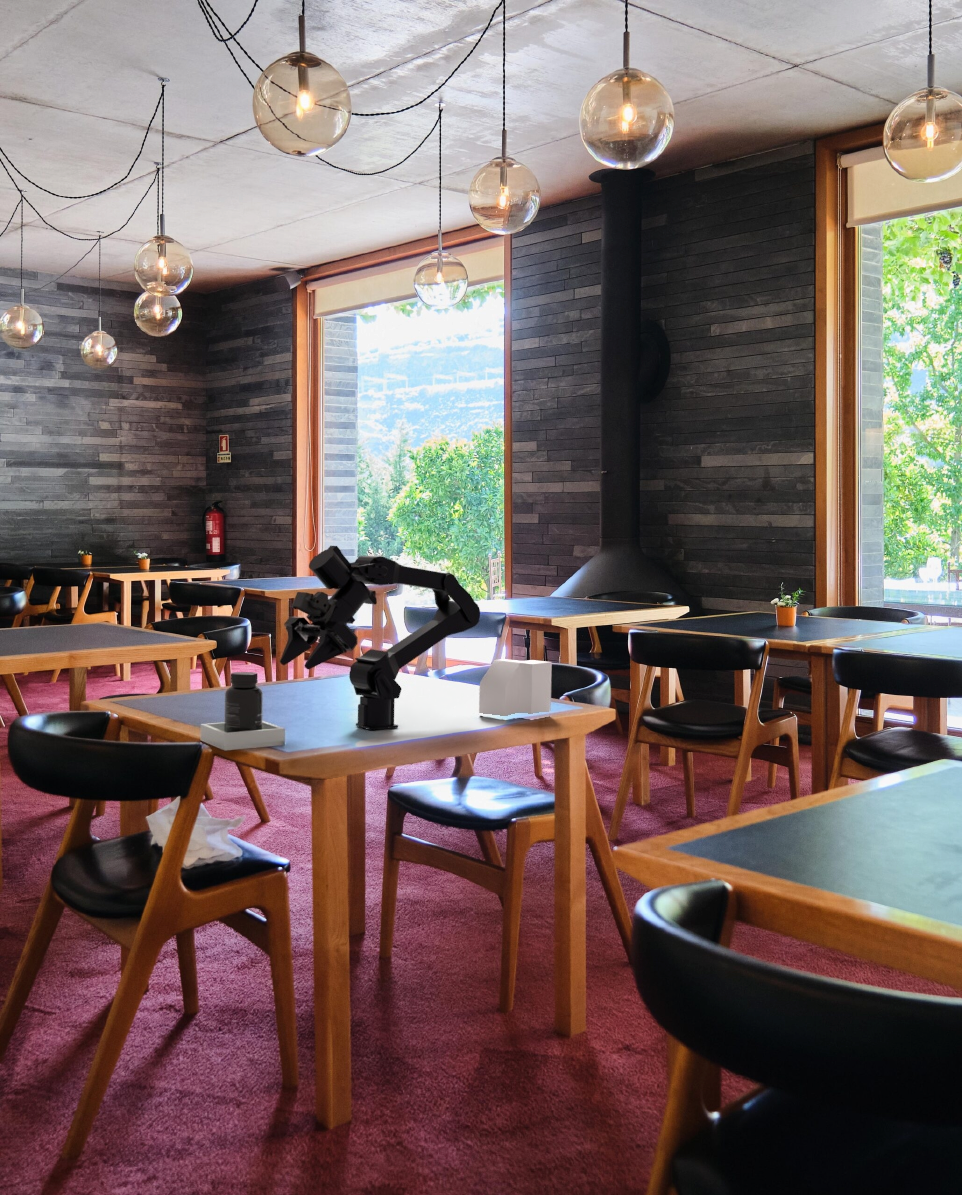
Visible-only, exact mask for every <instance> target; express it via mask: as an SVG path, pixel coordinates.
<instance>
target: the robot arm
mask: <svg viewBox="0 0 962 1195" xmlns="http://www.w3.org/2000/svg"><path fill="white" fill-rule="evenodd" d="M308 568H309V570H310V571H311V572H312V573H313V574H314V575H315V577H316V578H317V579H318V580H319V581H320V582H321V583H322V585H323V586H324V587H325V588H326V589H327V590H333V589H334V590H336V591H335V592H334V593H333V594H332V595H331V597H330V598H329V595H328V594H327V593H326V592H324V591H316V592H315V593H310V592H308V591H307V592H306V591H305V592H304V591H297V592H296V594H295V597H294V599H293V601H292V602H293V603H292V605H291V608H292V609H294V610H298V611H300V612H302V613H304V614H307V615H306V618H305V617H304V616H303V617H300V616H289V617H288V619H287V620H286V621H285V622H284V627H285V630H286V633H287V637H288V638H287V642H286V644H285V647H284V650H283V651H282V655H281V657H280V659H279V664H281V665H282V666H285V665H287V664H289V663H290V662H292V661H293V660H295V659H296V658H299V657H300V656H301V655H302V654H304V653H306V651H308V650H310V649H312V645H314V644H315V643H316V642H317V641H318V640H319V641H318V643H317V645H316V646H315V648H313V651H312V652H311V653H310V655H309V656H308V658H307V660H306V662H305V664H304V668H305V669H306V670H311V669H314V668H315V667H317V666H319V665H321V664H323V663H325V662H327V661H329V660H331V659H333V658H336V657H338V656H340V655H342V654H346V653H347V652H348V651H349V652H353V651H354V649H355V648H356V647H357V645H359V644H358V642H359V641H358V640H359V639H358V636H357V635H356V633H355V632H354V631H353V630H352V629H351V628H350V627H349V626H348V624H350V625H353V624H354V622H355V621H356V619H355V618H354V616H355V615H356V614H357V612H358V611H359V609H361V607H362V606H363V605H364V604H367V605H377V604H378V601H377V595H376V594H377V591H376V590H373V589H372V590H371V589H369V588H368V585H373V586H389V585H404V586H410V587H415V588H423V589H429V590H432V591H433V592H432V593H433V595H434V601H435V602H434V603H435V605H436V607H437V609H436V611H435V614H434V616H433V618H432V619H431V620H430V621H428V622H427V623H425V624H424V625H422V626H421V627H419V628H418V629H416V630H414V631H413V632H411V633H410V634H409V635H408V636H406V637H405V638H403V639H402V640H400V641H399V642H397V643H395V644H394V645H393V646H391V647H390V648H388V649H386V650H380V649H372V648H370V649H368V650H366V652H365V653H364V654H362V655H361V656H359V657H355V658H354V659H355V661H354V663H352V664H351V665H350V667H349V668H350V669H349V674H348V675H349V676H348V677H349V681H350V683H351V686H353V689H354V692H355V695H356V696H359V703H358V705H357V722H356V723H355V726H357V727H359V728H363V729H366V730H369V731H375V730H384V729H385V730H387V729H396V728H399V725H398V724H395V699H399V698H400V696H401V691H402V687H401V686H400V684H398V682H397V681H396V679H397V676H398V673H399V671H400V670H401V669H402V668H404V667H405V666H407V665H408V664H409V663H411V662H412V661H414V660H415V659H416V658H418V657H420V656H421V655H423V654H424V653H425V652H427V651H428V650H429V649H431V648H433V647H434V646H435V645H436V644H439V643H440V642H441V641H443V640H444V639H445V638H447V637H449V636H451V635H455V634H460V633H463V632H466V631H468V630H470V629H473V628H475V627H476V626H477V625H479V622H480V618H481V609H480V607H479V605H478V603H476V602H475V600H474V598H473V597H472V595H471V593H469V592H468V591H467V590H466V589H465V588H464V586H462V584H460V582H459V581H458V579H457V577H456V576H455V575H454V574H453V573H451V572H441V571H439V572H438V571H433V570H427V569H422V568H416V567H411V566H405V565H401V564H400V563H398V562H397V561H395V560H392V559H390V558H388V557H385V556H383V555H382V556H381V555H380V556H379V555H360V556H358V557H357V558H356V559H355V561H352V562H350V561H349V560H348V559H347V558H346V557H345V555H344V554H343V552H342V550H341V549H340V548H339V547H338V545H330V546H329V547H328V548H327V549H324V550H323V551H321V552H320V553H318V554H317V555H315V556H314V557H312V559H311V560H310V562H309V564H308ZM310 622H311V623H310Z"/></svg>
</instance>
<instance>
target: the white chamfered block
mask: <svg viewBox="0 0 962 1195" xmlns="http://www.w3.org/2000/svg"><path fill="white" fill-rule="evenodd" d="M552 663H553V662H552V661H544V660H537V659H536V660H535V659H529V660H517V659H509V658H508V659H507V658H500V659H494V660H493V661H492V663H491V665H490V666H489V668H488V669H487V670H486V672H485V674H484V675H483V677H482V679H481V680H480V682H479V693H478V694H479V701H478V702H479V703H478V706H479V707H478V714H479V713H483V714H492V715H500V716H508V715H511V714H515V713H528V714H533V713H539V712H549V711H551V705H552V672H553V671H552V667H553V666H552V665H553V664H552Z"/></svg>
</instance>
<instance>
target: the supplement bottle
mask: <svg viewBox="0 0 962 1195" xmlns="http://www.w3.org/2000/svg"><path fill="white" fill-rule="evenodd" d="M258 682H259V681H258V673H257V672H253V671H252V672H250V671H249V672H248V671H239V672H238V671H237V672H231V673H230V680H229V683H230V684H231V686H230V687H228V688H227V689H226V690H225V693H224V721H223V722H224V732H227V733H229V732H241V731H253V730H262V721H263V699H264V698H263V691H262V689H261V688H260V687H258V686H257V684H259V683H258Z"/></svg>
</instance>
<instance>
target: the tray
mask: <svg viewBox="0 0 962 1195" xmlns="http://www.w3.org/2000/svg"><path fill="white" fill-rule="evenodd" d="M200 741H202V742H204V743H206V744H208V745H210V746H213V747H215V748H218V749H220V750H222V751H225V752H226V751H233V750H234V751H235V750H245V749H255V748H256V749H257V748H267V747H275V746H276V747H277V746H285V745H286V728H285V727H282V726H279V725H276V724H273V723H270V722H267V721H265V720H262V730H253V731H241V732H229V733H227V732H224V721H223V722H213V723H211V722H210V723H209V722H208V723H200Z"/></svg>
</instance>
